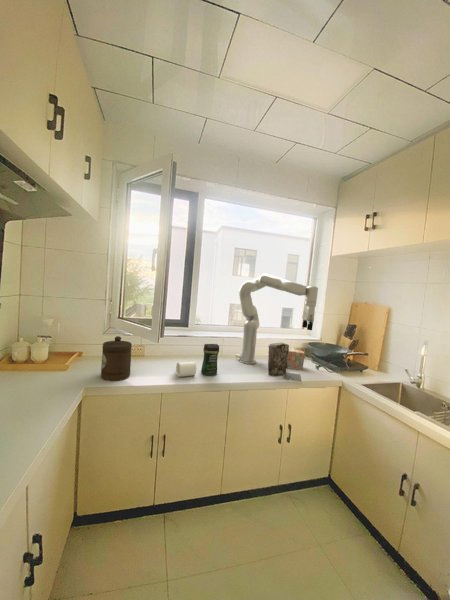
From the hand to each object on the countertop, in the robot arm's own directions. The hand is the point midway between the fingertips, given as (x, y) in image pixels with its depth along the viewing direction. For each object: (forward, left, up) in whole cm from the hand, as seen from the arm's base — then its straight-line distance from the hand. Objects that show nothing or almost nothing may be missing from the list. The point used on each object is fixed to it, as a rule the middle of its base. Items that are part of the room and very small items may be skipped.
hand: (306, 328), depth 177 cm
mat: (-7, -15, -30) cm, 35 cm away
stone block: (-17, -15, -30) cm, 38 cm away
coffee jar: (-58, -34, -30) cm, 74 cm away
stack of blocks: (-10, +6, -31) cm, 33 cm away
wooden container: (-104, -61, -30) cm, 124 cm away
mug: (-71, -42, -31) cm, 88 cm away
